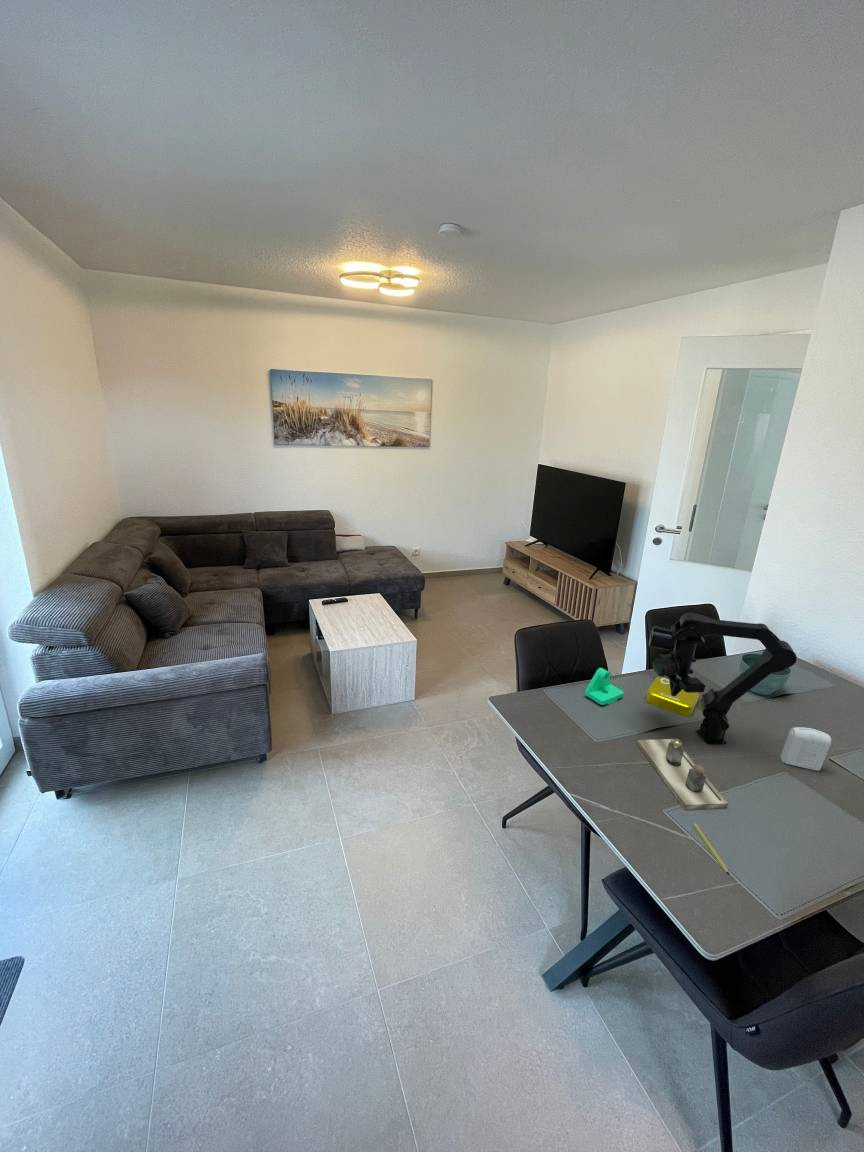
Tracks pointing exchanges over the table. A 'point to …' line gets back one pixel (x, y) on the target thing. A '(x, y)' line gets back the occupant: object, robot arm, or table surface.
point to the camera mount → (603, 688)
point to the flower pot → (769, 682)
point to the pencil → (711, 848)
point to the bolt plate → (682, 777)
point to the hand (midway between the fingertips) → (673, 695)
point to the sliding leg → (675, 751)
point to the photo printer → (806, 748)
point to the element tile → (671, 698)
